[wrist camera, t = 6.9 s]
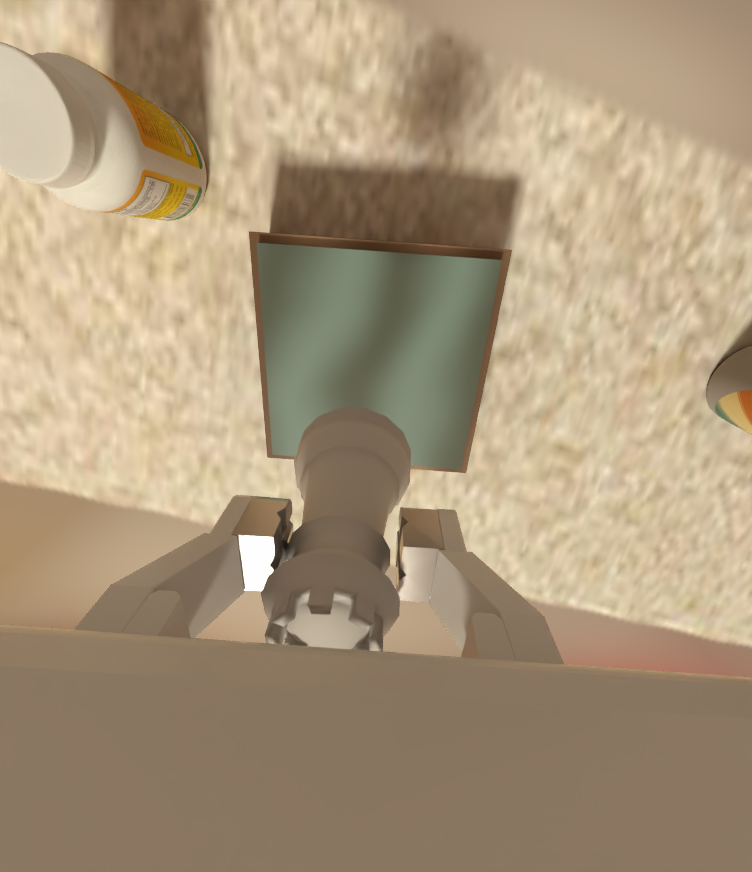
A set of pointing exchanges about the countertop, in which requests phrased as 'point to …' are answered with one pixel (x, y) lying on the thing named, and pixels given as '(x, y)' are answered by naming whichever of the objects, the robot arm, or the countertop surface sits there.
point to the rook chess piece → (341, 535)
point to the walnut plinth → (376, 337)
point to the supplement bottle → (94, 140)
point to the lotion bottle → (733, 390)
